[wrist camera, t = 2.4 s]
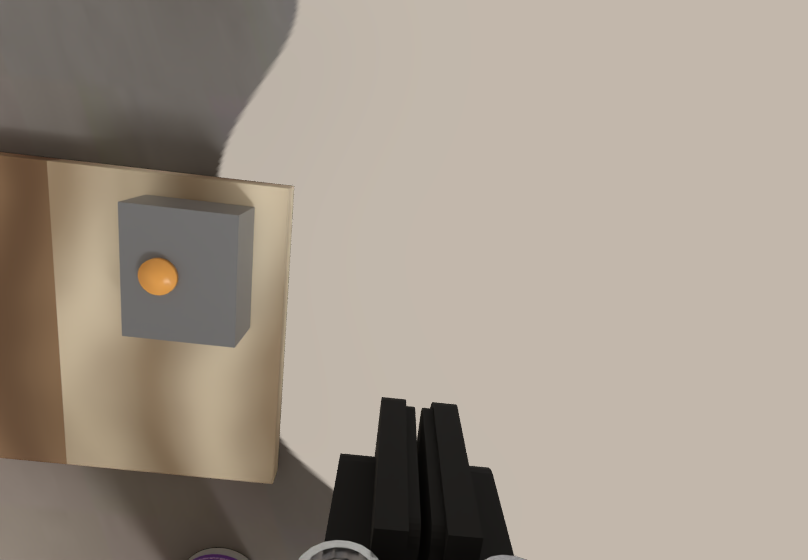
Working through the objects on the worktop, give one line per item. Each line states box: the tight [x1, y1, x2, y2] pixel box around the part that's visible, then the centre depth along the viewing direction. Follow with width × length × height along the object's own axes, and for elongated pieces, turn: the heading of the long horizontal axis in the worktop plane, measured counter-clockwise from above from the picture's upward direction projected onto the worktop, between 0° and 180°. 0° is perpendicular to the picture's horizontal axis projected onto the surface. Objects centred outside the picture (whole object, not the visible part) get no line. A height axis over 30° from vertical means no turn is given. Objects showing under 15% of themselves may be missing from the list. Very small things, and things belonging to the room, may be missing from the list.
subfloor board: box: [0, 152, 294, 484], centre depth 27 cm, size 19×16×1 cm
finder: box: [118, 195, 255, 348], centre depth 24 cm, size 5×6×3 cm
